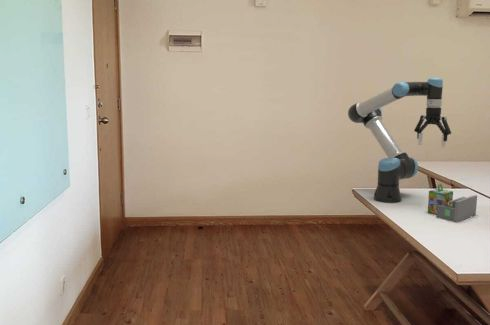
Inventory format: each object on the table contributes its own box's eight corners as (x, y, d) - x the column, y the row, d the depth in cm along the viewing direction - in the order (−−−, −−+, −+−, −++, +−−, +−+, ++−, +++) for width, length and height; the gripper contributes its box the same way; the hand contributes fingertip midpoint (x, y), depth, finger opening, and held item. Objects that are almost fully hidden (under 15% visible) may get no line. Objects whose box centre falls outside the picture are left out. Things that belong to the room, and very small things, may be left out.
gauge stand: (435, 217, 229) (437, 197, 228) (455, 210, 241) (456, 191, 240) (456, 222, 221) (458, 202, 219) (476, 214, 233) (477, 195, 231)
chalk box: (444, 216, 231) (446, 187, 228) (427, 212, 237) (428, 184, 235) (452, 212, 237) (454, 184, 234) (435, 209, 244) (436, 182, 241)
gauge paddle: (446, 217, 226) (447, 201, 224) (462, 211, 235) (463, 196, 234) (448, 217, 225) (449, 202, 223) (464, 212, 234) (465, 196, 233)
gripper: (409, 106, 256) (407, 144, 259) (452, 108, 236) (449, 149, 240) (416, 105, 260) (414, 143, 264) (459, 107, 241) (457, 147, 245)
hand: (431, 146), depth 252 cm, fingers open, 13 cm apart
